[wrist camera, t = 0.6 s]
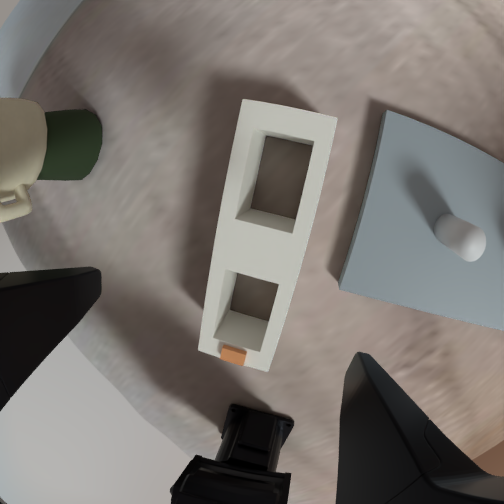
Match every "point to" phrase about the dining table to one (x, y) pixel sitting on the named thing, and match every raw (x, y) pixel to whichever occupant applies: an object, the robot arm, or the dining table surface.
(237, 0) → the dining table surface
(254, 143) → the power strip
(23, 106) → the character mug
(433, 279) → the stud board
